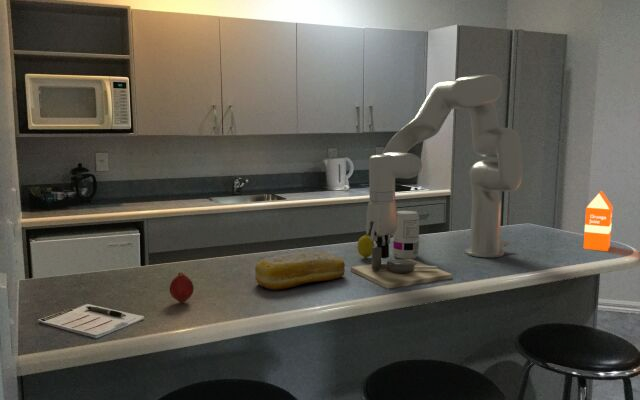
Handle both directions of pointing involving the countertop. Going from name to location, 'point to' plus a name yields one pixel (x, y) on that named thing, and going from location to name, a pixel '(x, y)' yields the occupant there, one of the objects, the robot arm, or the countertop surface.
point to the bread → (298, 269)
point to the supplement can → (406, 235)
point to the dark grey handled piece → (394, 263)
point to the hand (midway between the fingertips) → (383, 257)
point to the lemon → (365, 246)
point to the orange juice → (598, 223)
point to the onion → (181, 288)
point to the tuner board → (401, 275)
